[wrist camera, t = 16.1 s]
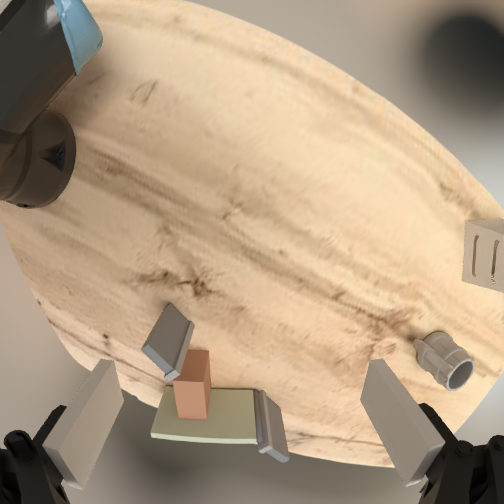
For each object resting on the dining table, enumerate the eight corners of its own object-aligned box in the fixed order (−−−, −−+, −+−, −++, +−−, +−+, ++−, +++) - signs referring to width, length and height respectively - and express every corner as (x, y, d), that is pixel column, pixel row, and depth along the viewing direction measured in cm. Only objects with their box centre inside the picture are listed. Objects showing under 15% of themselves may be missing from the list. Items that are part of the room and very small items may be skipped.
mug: (431, 370, 46) (463, 405, 34) (393, 353, 44) (427, 393, 33) (454, 337, 45) (491, 367, 33) (418, 315, 43) (459, 348, 31)
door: (167, 395, 44) (153, 441, 33) (165, 386, 43) (150, 432, 32) (257, 398, 44) (261, 447, 33) (257, 389, 44) (262, 438, 33)
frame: (163, 308, 41) (138, 353, 29) (172, 301, 41) (148, 344, 28) (273, 411, 46) (281, 465, 33) (281, 406, 45) (291, 460, 33)
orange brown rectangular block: (182, 349, 42) (172, 380, 34) (208, 350, 42) (203, 382, 35) (186, 385, 44) (178, 418, 36) (211, 386, 44) (207, 420, 36)
